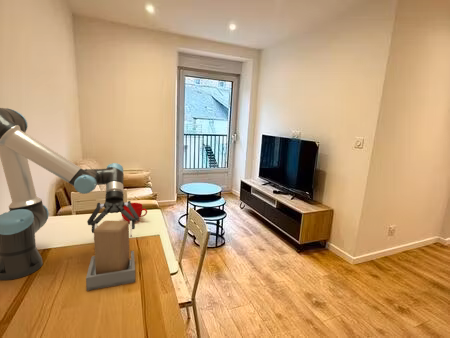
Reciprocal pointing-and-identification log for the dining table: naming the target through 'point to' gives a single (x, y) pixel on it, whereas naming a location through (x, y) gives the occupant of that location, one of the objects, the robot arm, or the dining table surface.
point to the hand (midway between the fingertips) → (113, 238)
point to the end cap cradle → (109, 276)
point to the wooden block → (111, 246)
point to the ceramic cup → (138, 210)
